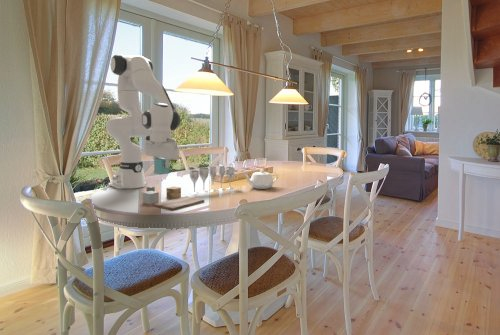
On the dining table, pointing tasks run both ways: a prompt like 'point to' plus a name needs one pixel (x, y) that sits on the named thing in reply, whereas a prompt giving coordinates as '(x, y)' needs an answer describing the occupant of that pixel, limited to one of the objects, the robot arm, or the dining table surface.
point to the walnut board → (178, 203)
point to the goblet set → (204, 174)
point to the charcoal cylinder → (150, 189)
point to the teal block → (160, 166)
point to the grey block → (150, 197)
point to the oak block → (173, 192)
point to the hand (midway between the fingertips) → (161, 166)
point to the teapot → (261, 179)
